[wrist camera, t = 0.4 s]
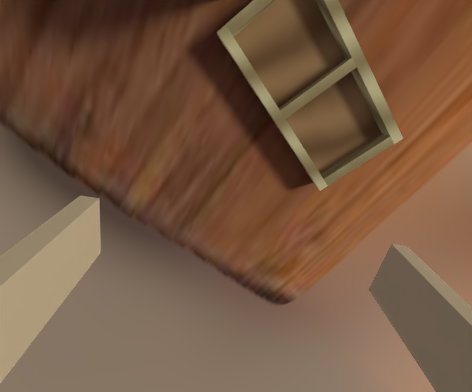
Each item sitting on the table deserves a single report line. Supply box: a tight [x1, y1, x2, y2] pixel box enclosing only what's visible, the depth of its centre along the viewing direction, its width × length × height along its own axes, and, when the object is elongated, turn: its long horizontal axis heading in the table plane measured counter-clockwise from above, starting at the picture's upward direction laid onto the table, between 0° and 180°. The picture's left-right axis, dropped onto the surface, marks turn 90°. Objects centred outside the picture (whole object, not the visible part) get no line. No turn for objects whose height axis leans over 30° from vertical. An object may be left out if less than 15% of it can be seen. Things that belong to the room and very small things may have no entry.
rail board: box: [217, 0, 403, 190], centre depth 32 cm, size 23×12×3 cm, turn 36°
